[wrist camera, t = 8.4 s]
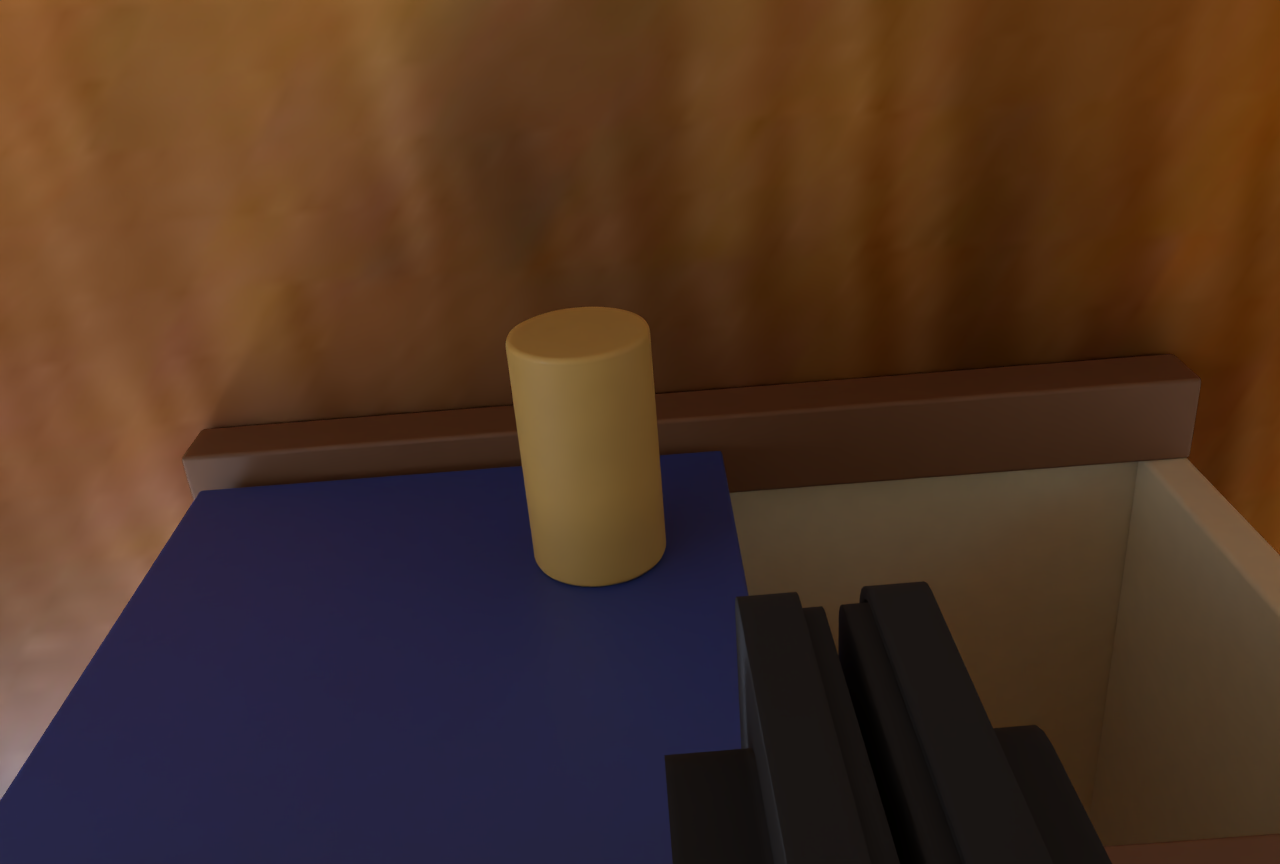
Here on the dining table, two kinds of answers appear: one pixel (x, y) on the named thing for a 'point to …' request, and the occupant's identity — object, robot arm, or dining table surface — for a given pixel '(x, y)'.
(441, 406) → the dining table surface
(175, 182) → the dining table surface
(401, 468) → the box with blue drawer
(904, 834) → the robot arm
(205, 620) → the sliding door
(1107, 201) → the dining table surface
